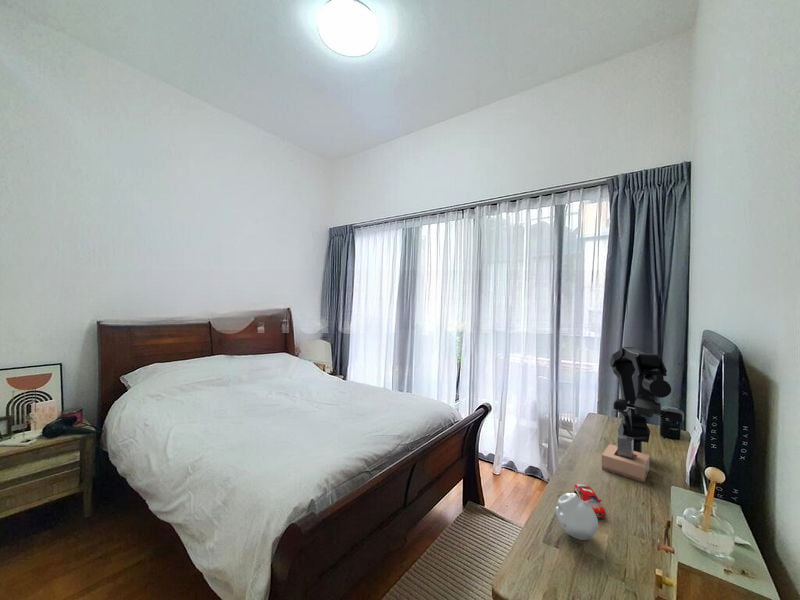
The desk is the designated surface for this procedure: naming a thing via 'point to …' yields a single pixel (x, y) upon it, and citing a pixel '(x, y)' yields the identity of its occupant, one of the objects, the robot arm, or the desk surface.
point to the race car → (590, 499)
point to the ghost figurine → (576, 516)
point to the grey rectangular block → (625, 447)
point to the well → (626, 464)
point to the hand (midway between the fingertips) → (647, 434)
